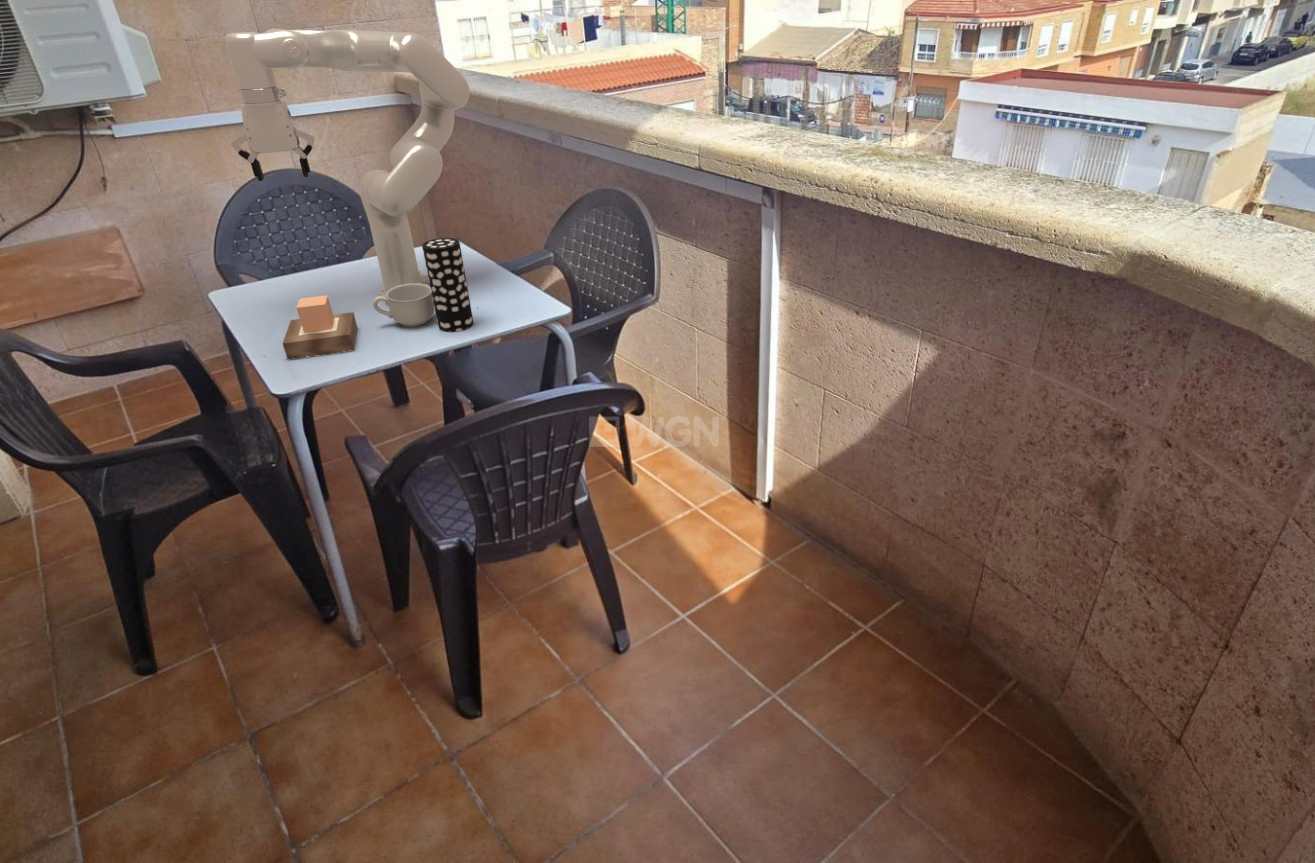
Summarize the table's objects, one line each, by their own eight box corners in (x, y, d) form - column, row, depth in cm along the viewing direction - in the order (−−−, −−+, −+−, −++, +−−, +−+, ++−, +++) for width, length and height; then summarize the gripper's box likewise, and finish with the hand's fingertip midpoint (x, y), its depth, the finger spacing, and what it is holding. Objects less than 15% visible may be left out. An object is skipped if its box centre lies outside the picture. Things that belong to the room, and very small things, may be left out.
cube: (334, 319, 170) (327, 295, 167) (332, 329, 165) (325, 304, 162) (307, 323, 169) (299, 298, 166) (304, 332, 164) (296, 307, 161)
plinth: (357, 327, 176) (353, 311, 174) (354, 350, 165) (349, 333, 163) (295, 335, 173) (290, 319, 171) (287, 359, 162) (282, 342, 159)
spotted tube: (441, 334, 171) (424, 251, 161) (435, 322, 178) (419, 241, 167) (476, 328, 174) (462, 245, 164) (469, 316, 181) (455, 236, 170)
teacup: (439, 311, 184) (433, 281, 180) (436, 328, 175) (429, 296, 171) (382, 316, 182) (375, 286, 178) (376, 333, 173) (368, 302, 169)
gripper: (305, 92, 164) (325, 171, 173) (221, 97, 160) (246, 178, 169) (301, 96, 158) (322, 177, 167) (213, 101, 154) (240, 185, 163)
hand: (284, 177), depth 168 cm, fingers open, 9 cm apart
